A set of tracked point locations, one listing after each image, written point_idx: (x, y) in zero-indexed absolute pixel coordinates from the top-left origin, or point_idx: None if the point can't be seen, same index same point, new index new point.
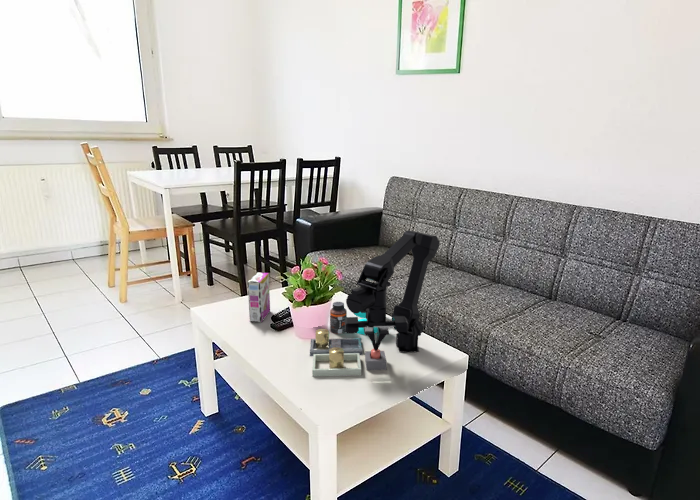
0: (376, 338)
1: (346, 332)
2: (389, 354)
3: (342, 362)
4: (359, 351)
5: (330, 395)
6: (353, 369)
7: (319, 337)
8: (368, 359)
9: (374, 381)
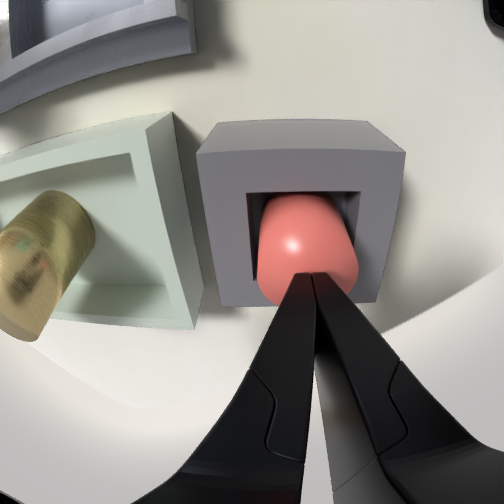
0: (342, 382)
1: (8, 498)
2: (420, 19)
3: (70, 280)
4: (155, 25)
5: (116, 358)
6: (151, 326)
7: None
8: (235, 288)
9: (274, 309)
